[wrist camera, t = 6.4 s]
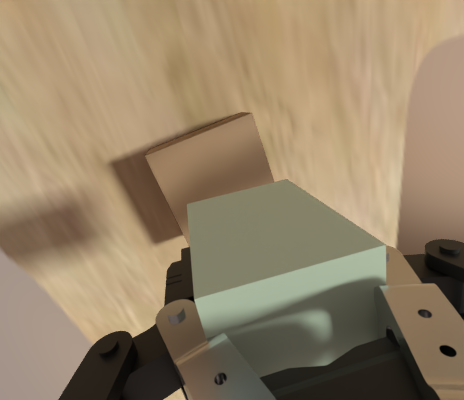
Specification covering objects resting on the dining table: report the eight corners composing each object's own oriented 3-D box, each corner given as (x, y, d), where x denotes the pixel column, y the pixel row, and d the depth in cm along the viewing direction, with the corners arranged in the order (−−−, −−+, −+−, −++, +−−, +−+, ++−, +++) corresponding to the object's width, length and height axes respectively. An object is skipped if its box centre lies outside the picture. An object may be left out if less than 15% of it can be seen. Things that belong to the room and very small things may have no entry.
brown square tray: (149, 148, 25) (144, 156, 22) (241, 112, 26) (251, 113, 22) (189, 231, 28) (191, 250, 25) (270, 197, 29) (283, 210, 25)
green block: (186, 204, 13) (194, 299, 7) (287, 179, 14) (386, 244, 7) (210, 290, 15) (234, 433, 8) (298, 265, 15) (386, 381, 9)
